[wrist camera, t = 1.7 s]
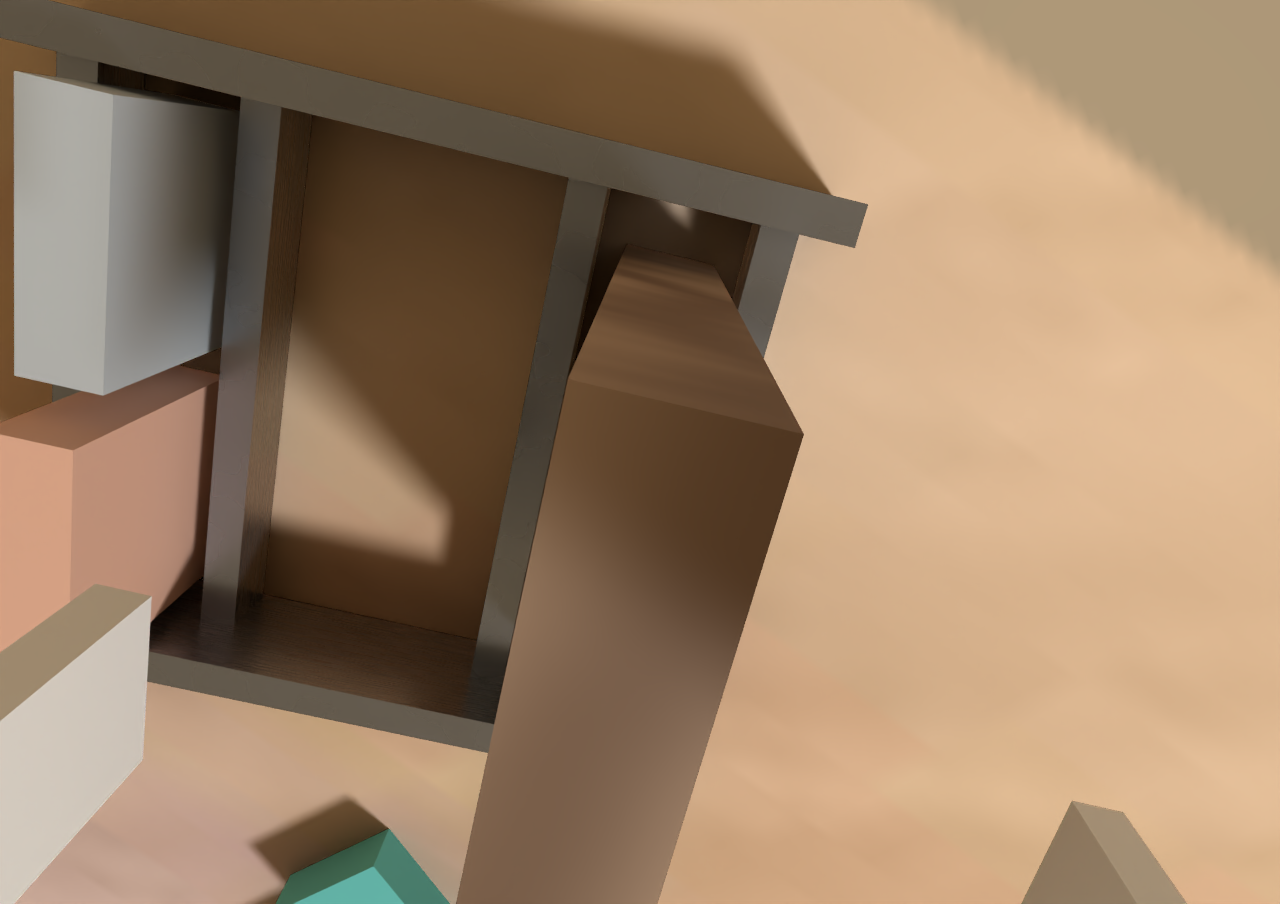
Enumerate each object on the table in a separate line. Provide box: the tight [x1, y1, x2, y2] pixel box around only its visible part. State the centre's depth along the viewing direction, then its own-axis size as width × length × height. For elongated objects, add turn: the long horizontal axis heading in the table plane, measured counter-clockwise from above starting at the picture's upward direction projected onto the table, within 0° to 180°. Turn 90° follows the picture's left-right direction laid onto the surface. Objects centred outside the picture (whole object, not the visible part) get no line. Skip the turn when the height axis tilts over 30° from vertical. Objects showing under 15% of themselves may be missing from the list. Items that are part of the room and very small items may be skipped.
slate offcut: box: [14, 71, 240, 396], centre depth 21 cm, size 2×6×6 cm, turn 167°
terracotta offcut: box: [0, 365, 220, 652], centre depth 23 cm, size 2×6×7 cm, turn 167°
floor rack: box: [0, 0, 868, 753], centre depth 24 cm, size 20×17×4 cm
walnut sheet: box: [456, 244, 804, 904], centre depth 18 cm, size 2×12×16 cm, turn 167°
